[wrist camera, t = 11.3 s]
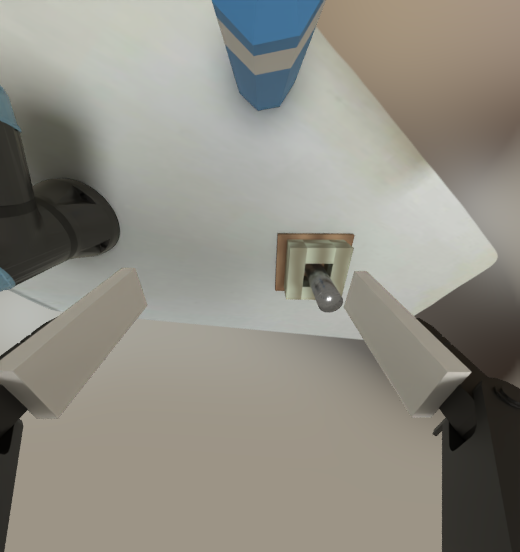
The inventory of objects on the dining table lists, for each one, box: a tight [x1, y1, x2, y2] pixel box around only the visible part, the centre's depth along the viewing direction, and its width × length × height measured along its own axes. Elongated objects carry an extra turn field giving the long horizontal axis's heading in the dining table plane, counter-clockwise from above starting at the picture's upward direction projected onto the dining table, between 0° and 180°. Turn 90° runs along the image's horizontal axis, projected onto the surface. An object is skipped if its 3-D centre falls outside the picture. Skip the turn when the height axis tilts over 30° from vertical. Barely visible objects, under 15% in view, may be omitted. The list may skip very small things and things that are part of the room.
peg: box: [304, 264, 343, 312], centre depth 38 cm, size 4×4×14 cm
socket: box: [275, 233, 354, 300], centre depth 42 cm, size 16×14×6 cm
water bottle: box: [212, 0, 326, 111], centre depth 19 cm, size 9×9×25 cm
